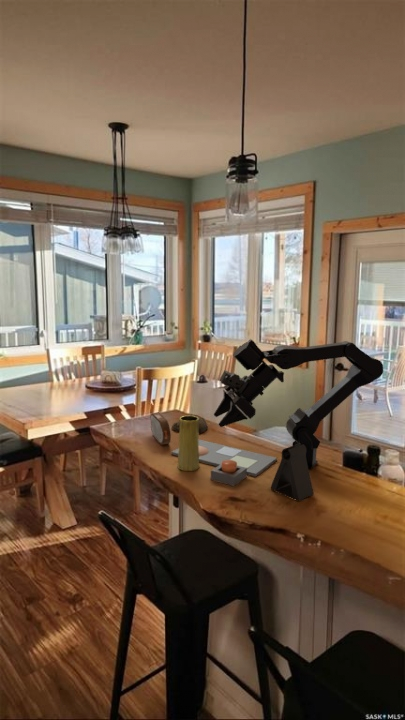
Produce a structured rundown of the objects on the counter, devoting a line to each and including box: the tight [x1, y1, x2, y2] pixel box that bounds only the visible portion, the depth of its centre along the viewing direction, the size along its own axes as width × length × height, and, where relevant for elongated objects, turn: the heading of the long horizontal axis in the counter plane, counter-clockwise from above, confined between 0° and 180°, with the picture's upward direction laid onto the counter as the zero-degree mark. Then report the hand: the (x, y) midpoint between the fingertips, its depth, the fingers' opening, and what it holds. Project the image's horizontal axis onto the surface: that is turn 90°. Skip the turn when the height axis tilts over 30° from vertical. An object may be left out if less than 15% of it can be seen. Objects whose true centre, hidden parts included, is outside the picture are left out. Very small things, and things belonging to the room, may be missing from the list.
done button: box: [222, 460, 237, 473], centre depth 125 cm, size 4×4×2 cm
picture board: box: [170, 438, 278, 477], centre depth 140 cm, size 28×14×1 cm, turn 58°
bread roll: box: [171, 414, 209, 434], centre depth 167 cm, size 13×12×5 cm
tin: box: [149, 411, 172, 445], centre depth 153 cm, size 15×3×8 cm, turn 22°
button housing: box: [210, 464, 247, 487], centre depth 126 cm, size 7×7×2 cm
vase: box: [177, 415, 200, 472], centre depth 131 cm, size 6×6×14 cm
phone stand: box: [269, 443, 315, 502], centre depth 118 cm, size 9×6×12 cm, turn 41°
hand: (217, 420), depth 131 cm, fingers open, 9 cm apart
